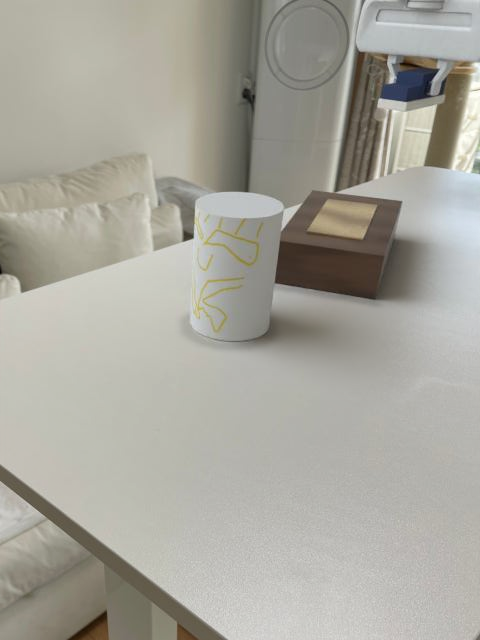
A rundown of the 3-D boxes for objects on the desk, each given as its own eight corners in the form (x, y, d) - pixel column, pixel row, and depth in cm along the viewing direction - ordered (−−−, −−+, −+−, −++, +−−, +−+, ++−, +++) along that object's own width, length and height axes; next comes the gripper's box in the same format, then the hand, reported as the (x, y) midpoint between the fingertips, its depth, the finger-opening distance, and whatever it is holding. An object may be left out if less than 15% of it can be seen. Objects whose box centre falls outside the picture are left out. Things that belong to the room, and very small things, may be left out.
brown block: (307, 226, 92) (312, 188, 89) (394, 238, 89) (403, 199, 86) (269, 281, 75) (274, 238, 72) (374, 299, 72) (385, 254, 69)
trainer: (416, 99, 100) (422, 66, 98) (444, 103, 98) (451, 69, 95) (376, 107, 94) (382, 73, 92) (405, 111, 92) (412, 76, 89)
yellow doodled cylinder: (173, 323, 66) (177, 204, 59) (220, 299, 71) (229, 186, 64) (239, 349, 62) (251, 224, 55) (284, 321, 67) (300, 203, 60)
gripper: (525, -22, 83) (492, 98, 91) (383, -24, 95) (366, 82, 103) (503, -21, 79) (471, 104, 87) (359, -23, 91) (342, 86, 99)
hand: (413, 92), depth 95 cm, fingers closed on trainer, 4 cm apart
